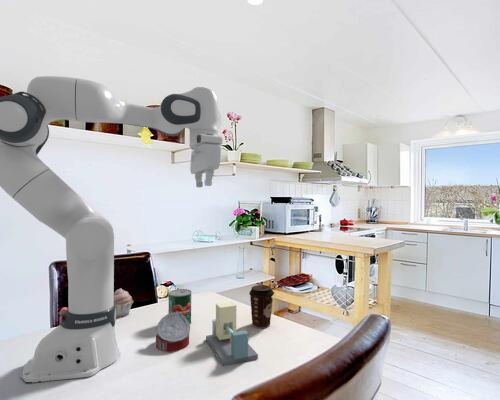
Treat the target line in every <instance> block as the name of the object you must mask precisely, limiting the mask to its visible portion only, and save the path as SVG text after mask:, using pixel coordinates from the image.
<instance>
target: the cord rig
mask: <svg viewBox="0 0 500 400" xmlns="http://www.w3.org/2000/svg"><path fill="white" fill-rule="evenodd" d="M211 326H212V327H211V328H212V332H211V334H207V335H206V336H205V340H206V342H207V343H208V345H209V347H211V350H212V352H213V353H214V354H215V356H216V357H217V359H218V360H219V362H220V363H221V365H222V366H223V367H226V366H229V365H230V366H231V365H233V364H240V363H244V362H249V361H254V360H259V354H258V353H257V352H256V351H255V349H253V347H252V346H251V345H250V344H249V333H248V331H246V330H245V329H244V330H239V331H237V330H236V332H233V331H232V330H231V328H230V327H229V326H228V323H223V330H224V329H226V330H227V331H228V333H229V334H230V335H231V337H230V338H229V339H223V340H219V338H218V337H217V336H216V318H215V319H212V325H211Z"/></svg>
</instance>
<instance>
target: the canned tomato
mask: <svg viewBox="0 0 500 400" xmlns="http://www.w3.org/2000/svg"><path fill="white" fill-rule="evenodd" d="M172 312H177V313H181V314H183V315H184V316H185V317H186V319H187V320H188V322H189V325H190V326H191V324H192V290H191V289H187V288H180V289H179V288H177V289H172V290H170V291H169V292H168V313H172Z"/></svg>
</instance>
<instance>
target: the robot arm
mask: <svg viewBox="0 0 500 400" xmlns="http://www.w3.org/2000/svg"><path fill="white" fill-rule="evenodd" d="M218 103H219V102H218V97H217V95H216V93H215V92H214V91H213V90H211V89H209V88H207V87H202V86H197V87H194V88H192V89H191V90H189V91H186V92H183V93H172V94H168V95H167V96H165V97H164V98H163V99H162V101H161V103H160V105H159V106H156V107H149V106H144V105H139V104H132V103H128V102H125V101H123V100H121V99H120V98H119V97H118V96H116V95H115V94H114V93H113V92H112V91H111V90H110V89H109V88H108V87H107V86H105V85H104V84H102V83H99V82H96V81H92V80H89V79H84V78H77V77H70V76H68V77H67V76H56V75H55V76H53V75H52V76H50V75H49V76H47V75H44V76H43V75H42V76H36V77H34V78H32V79H31V80H30V81H29V83H28V86H27V88H26V91H18V92H15V93H12V94H9V95H4V96H0V188H1V189H2V190H3V191H4V192H5V193H6V194H7V195H8V196H10V197H11V198H12V199H13V201H16V202H17V203H18V204H19V205H20V206H21V207H22V208H24V210H25V211H27V212H28V213H30V215H32V216H33V218H35V219H36V220H37V221H39V222H40V223H42V224H44V225H46V226H47V227H48V228H50V230H53V231H54V232H56V233H57V234H58V235H60V236H61V237H62V238H64V239H65V253H66V268H67V280H68V290H67V291H68V292H67V294H68V295H67V296H68V298H67V299H68V300H67V302H68V307H66V306H65V307H62V308H61V309H60V311H59V313H58V314H59V318H58V322H59V325H58V326H57V327H55V328H54V329H52V330H51V331H50V332H49V333H47V334H46V335H45V336H44V337H43V338H42V339H41V340H40V341H39V343H38V344H37V346H36V348H35V350H34V353H33V357H31V358H30V359H29V360H27V362H26V364H25V365H24V367H23V369H22V373H21V380H22V379H23V380H24V381H25V382H32V383H39V382H38V381H41V382H50V380H51V381H61V380H68V379H69V380H70V379H77V378H87V377H88V378H89V377H92V376H95V375H96V374H97V373H98V372H99V371H100V370H103V369H104V368H106V367H108V366H110V365H113V363H115V362H116V361H117V360H118V358H119V357H120V354H121V352H120V349H119V347H118V346H119V345H118V342H117V337H116V330H115V325H116V322H117V321H116V319H117V317H116V308H115V304H114V293H115V291H114V290H115V289H114V288H115V286H114V283H115V278H114V276H115V271H114V270H115V264H114V263H115V234H114V228H113V226H112V224H111V222H110V221H109V220H108V219H107V218H106V217H105V216H103V215H102V213H100V212H99V211H98V210H97V209H95V208H94V206H92V205H91V204H90V203H89V202H87V201H86V200H85V199H84V198H83V197H82V196H80V194H78V193H77V192H76V191H75V190H74V189H73V188H72V187H71V186H69V184H67V183H66V182H65V181H64V180H63V179H62V178H61V177H60V176H59V175H57V174H56V172H54V171H53V170H52V169H51V168H50V167H49V166H47V165H46V163H44V162H43V161H42V159H40V158H39V156H38V155H39V153H40V152H41V150H42V149H43V147H44V146H45V144H46V142H47V141H48V139H49V136H50V128H49V124H50V123H52V122H54V121H64V120H66V121H73V122H81V123H97V124H98V123H100V124H101V123H102V124H103V123H106V124H121V125H129V126H135V127H141V128H148V129H152V130H153V131H154V130H155V131H157V132H159V133H161V134H162V135H165V136H168V137H175V136H178V135H180V134H181V133H182V132H184V130H185V129H188V130H189V148H191V149H193V150H192V151H191V155H190V165H189V166H190V168H189V169H190V174H191V175H194V179H195V186H196V188H203V186H205V187H210V186H212V184H213V182H212V181H213V178H214V172H215V171H216V170H218V169H219V168H220V165H221V156H222V155H221V153H222V147H221V145H222V144H223V137H222V136H220V135H219V129H218V122H219V104H218ZM203 174H205V179H204V182H203ZM23 380H22V381H23ZM24 381H23V382H24ZM25 382H24V383H25Z"/></svg>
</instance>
